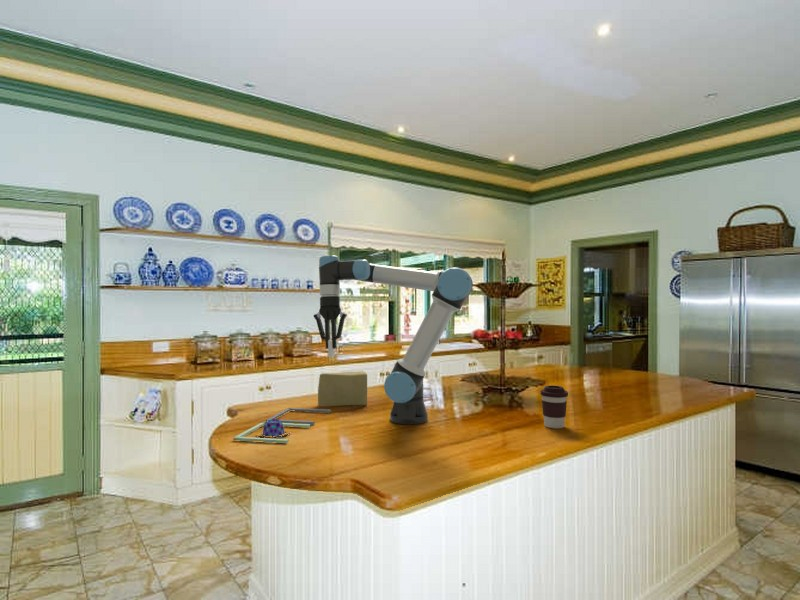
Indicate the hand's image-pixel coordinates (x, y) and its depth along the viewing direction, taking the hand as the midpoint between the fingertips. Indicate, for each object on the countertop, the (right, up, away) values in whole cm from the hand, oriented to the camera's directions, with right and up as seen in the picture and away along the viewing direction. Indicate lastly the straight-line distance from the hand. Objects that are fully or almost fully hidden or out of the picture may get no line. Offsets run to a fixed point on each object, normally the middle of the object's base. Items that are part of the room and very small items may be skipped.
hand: (331, 357), depth 179 cm
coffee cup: (+85, -26, -3) cm, 89 cm away
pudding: (-19, -27, -12) cm, 35 cm away
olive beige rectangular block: (0, -27, +35) cm, 44 cm away
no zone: (-14, -26, +12) cm, 32 cm away
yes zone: (-18, -26, -12) cm, 34 cm away
